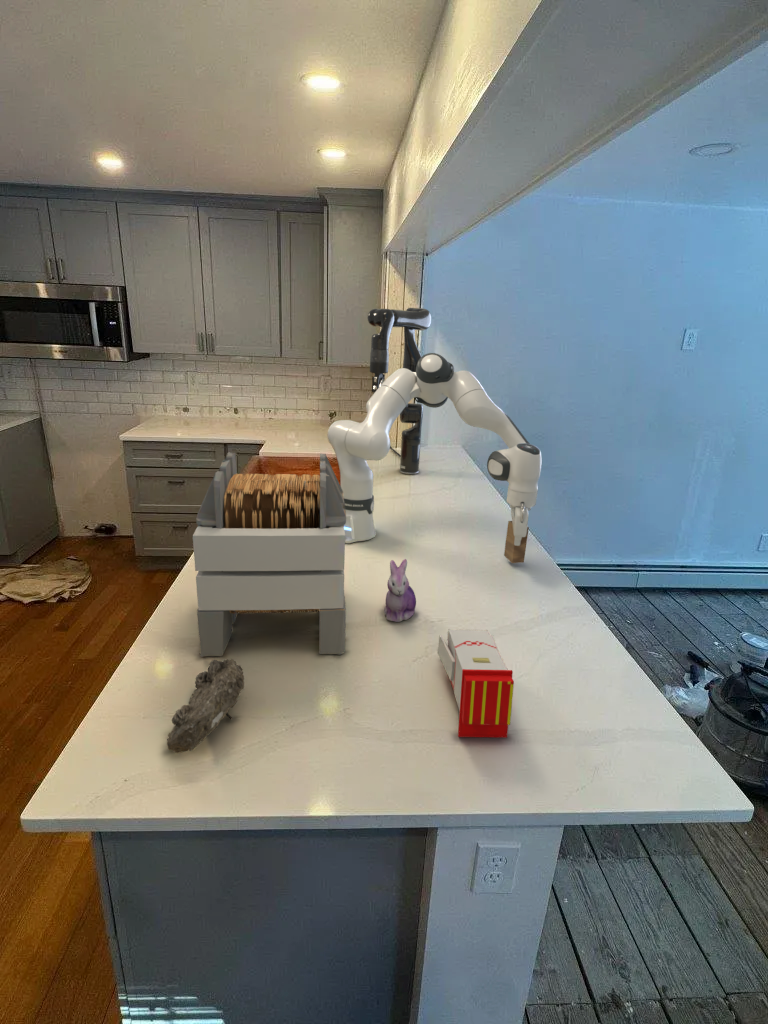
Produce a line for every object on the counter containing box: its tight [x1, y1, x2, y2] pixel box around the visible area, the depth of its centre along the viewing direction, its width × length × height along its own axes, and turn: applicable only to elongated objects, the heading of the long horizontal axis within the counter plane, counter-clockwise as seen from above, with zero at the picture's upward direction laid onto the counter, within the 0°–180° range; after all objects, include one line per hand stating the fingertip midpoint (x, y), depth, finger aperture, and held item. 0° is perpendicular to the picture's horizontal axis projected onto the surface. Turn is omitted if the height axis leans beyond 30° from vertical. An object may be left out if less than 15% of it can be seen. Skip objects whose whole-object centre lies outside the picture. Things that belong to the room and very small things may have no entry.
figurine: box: [384, 558, 417, 623], centre depth 145 cm, size 9×10×15 cm
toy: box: [437, 628, 515, 738], centre depth 117 cm, size 12×13×30 cm
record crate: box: [192, 452, 347, 658], centre depth 136 cm, size 34×33×41 cm
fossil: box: [166, 658, 245, 754], centre depth 106 cm, size 22×10×15 cm
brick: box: [503, 520, 530, 564], centre depth 177 cm, size 4×6×12 cm
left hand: (516, 539), depth 177 cm, fingers closed on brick, 7 cm apart
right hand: (377, 400), depth 235 cm, fingers open, 8 cm apart
